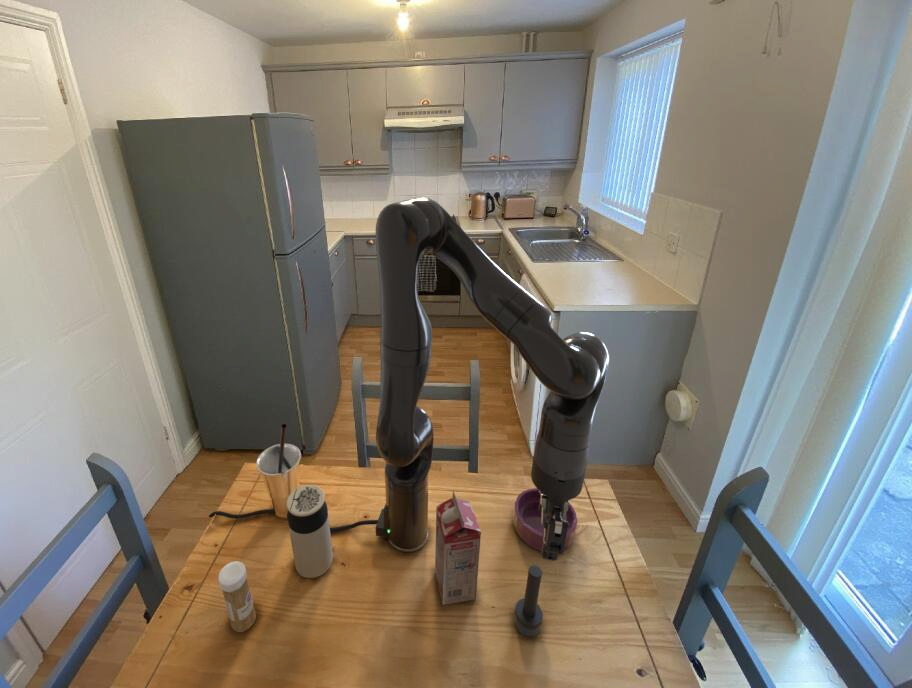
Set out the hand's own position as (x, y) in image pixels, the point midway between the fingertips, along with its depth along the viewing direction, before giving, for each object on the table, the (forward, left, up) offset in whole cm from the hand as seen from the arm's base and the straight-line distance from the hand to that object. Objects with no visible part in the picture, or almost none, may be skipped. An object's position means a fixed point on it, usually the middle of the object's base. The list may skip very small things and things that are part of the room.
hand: (546, 534), depth 70 cm
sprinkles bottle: (-53, -13, -23) cm, 59 cm away
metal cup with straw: (-57, +12, -23) cm, 63 cm away
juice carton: (-15, +3, -23) cm, 28 cm away
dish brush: (-1, -1, -23) cm, 23 cm away
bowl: (+3, +21, -23) cm, 31 cm away
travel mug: (-45, +1, -23) cm, 51 cm away
